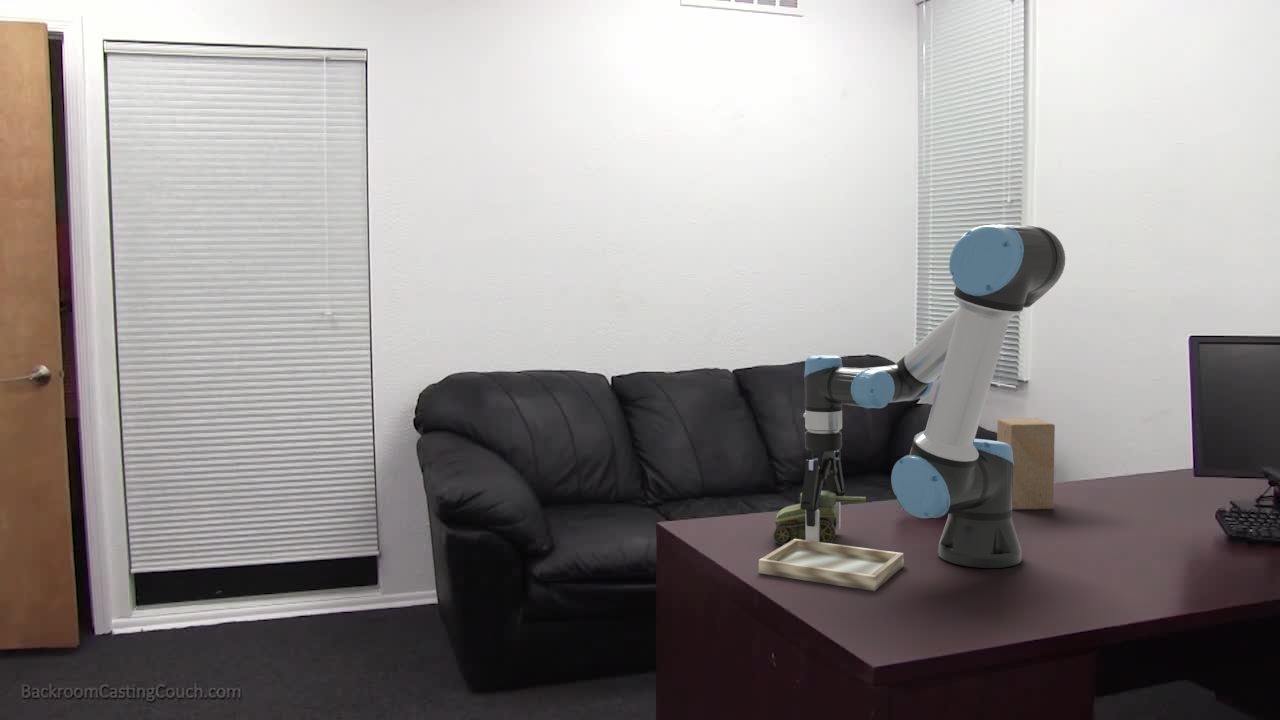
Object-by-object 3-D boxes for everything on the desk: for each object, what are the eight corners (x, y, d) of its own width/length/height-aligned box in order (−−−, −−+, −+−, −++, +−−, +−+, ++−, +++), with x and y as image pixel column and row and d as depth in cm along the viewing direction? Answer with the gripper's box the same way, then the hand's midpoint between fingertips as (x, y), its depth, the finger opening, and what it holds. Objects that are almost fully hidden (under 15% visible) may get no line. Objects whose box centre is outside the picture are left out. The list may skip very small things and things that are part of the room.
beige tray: (903, 566, 186) (903, 553, 186) (874, 591, 172) (874, 577, 172) (794, 551, 198) (794, 538, 197) (758, 573, 183) (758, 559, 183)
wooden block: (1054, 509, 229) (1055, 424, 227) (1010, 510, 229) (1011, 424, 227) (1037, 500, 239) (1038, 417, 237) (995, 500, 239) (996, 418, 237)
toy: (865, 548, 199) (865, 499, 198) (773, 544, 203) (773, 496, 202) (865, 535, 209) (865, 488, 208) (777, 532, 213) (777, 486, 212)
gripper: (826, 421, 216) (826, 520, 217) (783, 437, 196) (783, 545, 197) (860, 423, 212) (860, 524, 214) (819, 440, 192) (819, 550, 193)
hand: (823, 534), depth 205 cm, fingers closed on toy, 11 cm apart
